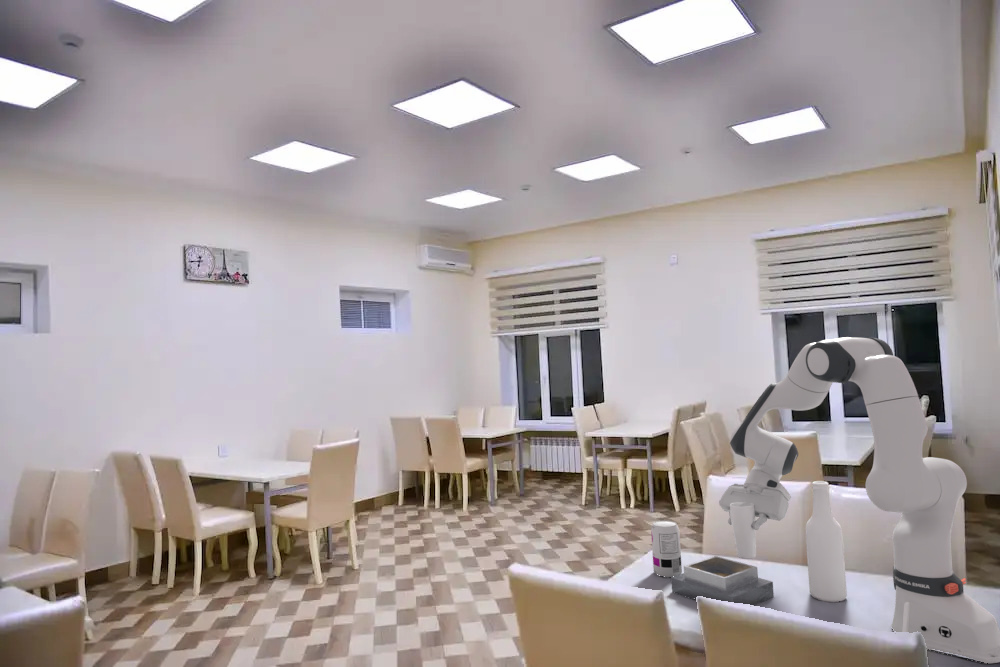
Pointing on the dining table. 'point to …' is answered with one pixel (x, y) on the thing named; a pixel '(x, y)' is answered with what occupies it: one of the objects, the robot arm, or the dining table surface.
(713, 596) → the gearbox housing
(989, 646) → the robot arm
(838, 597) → the white bottle
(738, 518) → the drinking glass
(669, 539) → the supplement can
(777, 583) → the dining table surface
